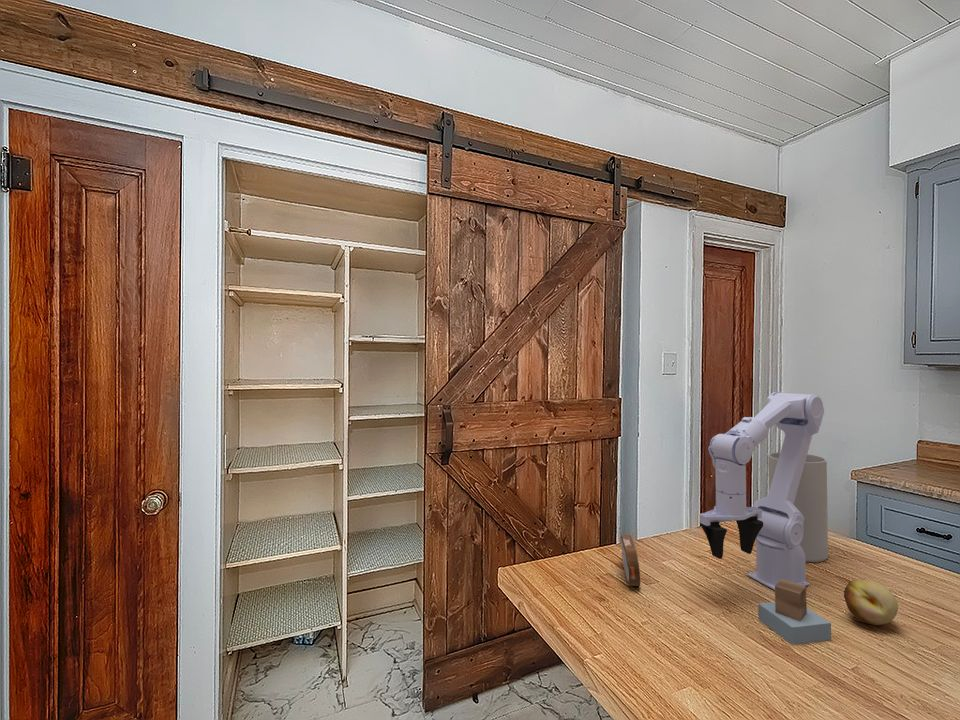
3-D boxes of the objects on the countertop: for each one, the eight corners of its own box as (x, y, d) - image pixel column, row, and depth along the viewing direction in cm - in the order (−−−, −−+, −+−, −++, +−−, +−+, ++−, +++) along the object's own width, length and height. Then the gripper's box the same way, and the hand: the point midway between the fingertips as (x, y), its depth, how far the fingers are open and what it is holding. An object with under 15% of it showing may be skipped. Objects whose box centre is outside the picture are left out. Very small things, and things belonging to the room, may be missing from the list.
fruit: (835, 617, 89) (835, 577, 89) (860, 608, 93) (860, 568, 93) (882, 639, 82) (882, 595, 82) (907, 628, 86) (906, 585, 86)
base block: (794, 617, 90) (794, 599, 90) (831, 642, 82) (831, 622, 82) (758, 621, 89) (758, 603, 89) (792, 646, 81) (792, 627, 81)
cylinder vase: (777, 539, 128) (776, 450, 127) (832, 552, 118) (831, 457, 118) (763, 552, 119) (761, 457, 119) (822, 568, 110) (820, 465, 110)
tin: (641, 593, 100) (641, 555, 100) (626, 592, 100) (626, 554, 100) (632, 563, 115) (632, 529, 114) (619, 562, 115) (619, 529, 115)
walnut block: (782, 604, 89) (781, 579, 89) (806, 612, 86) (806, 586, 86) (775, 612, 86) (774, 586, 86) (800, 621, 83) (799, 593, 83)
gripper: (742, 483, 103) (743, 542, 103) (688, 489, 99) (689, 551, 99) (770, 491, 96) (771, 555, 96) (713, 498, 92) (714, 565, 92)
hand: (731, 554), depth 97 cm, fingers open, 7 cm apart
